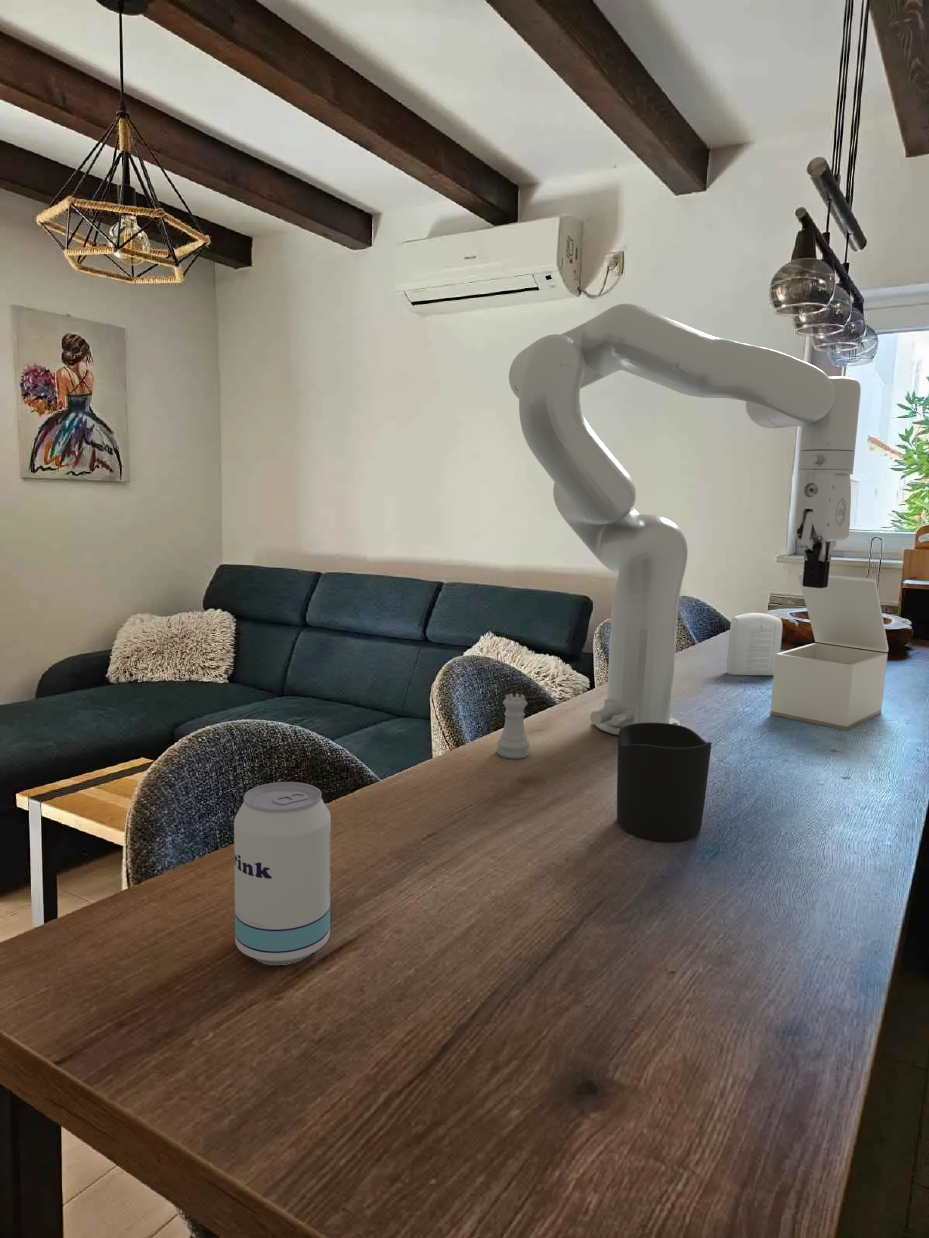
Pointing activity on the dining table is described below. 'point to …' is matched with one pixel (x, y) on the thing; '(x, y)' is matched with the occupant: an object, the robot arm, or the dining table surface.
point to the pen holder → (661, 781)
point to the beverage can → (282, 872)
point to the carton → (828, 685)
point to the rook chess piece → (513, 729)
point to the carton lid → (846, 613)
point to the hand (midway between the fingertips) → (814, 586)
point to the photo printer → (753, 644)
